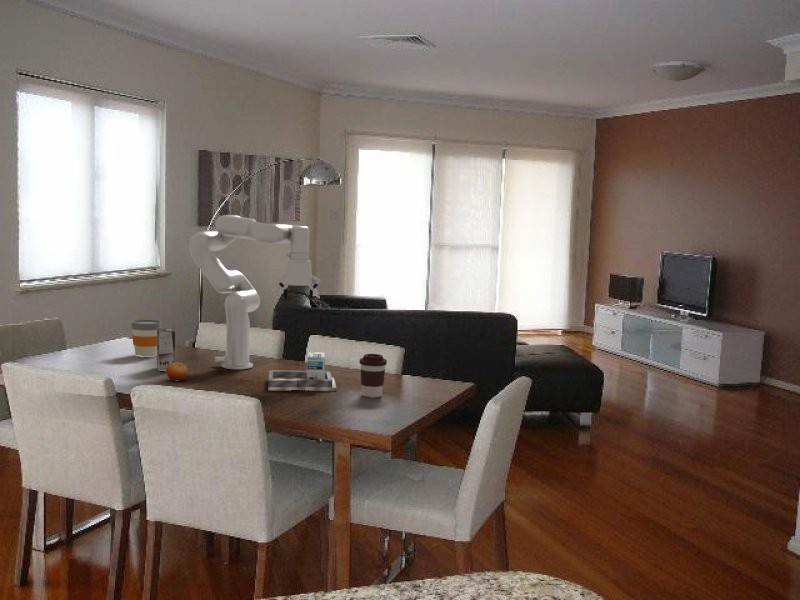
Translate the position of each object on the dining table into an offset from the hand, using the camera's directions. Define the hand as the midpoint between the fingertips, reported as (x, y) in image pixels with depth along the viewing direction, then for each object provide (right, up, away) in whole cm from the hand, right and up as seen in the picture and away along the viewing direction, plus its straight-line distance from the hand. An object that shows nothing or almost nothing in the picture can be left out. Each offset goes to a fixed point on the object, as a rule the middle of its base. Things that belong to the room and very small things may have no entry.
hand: (298, 299), depth 324 cm
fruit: (-44, -31, -18) cm, 56 cm away
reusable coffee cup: (-69, -25, +27) cm, 78 cm away
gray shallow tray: (+4, -33, -17) cm, 37 cm away
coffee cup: (+31, -35, -29) cm, 55 cm away
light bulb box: (+9, -32, -16) cm, 37 cm away
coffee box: (-53, -28, +1) cm, 60 cm away
